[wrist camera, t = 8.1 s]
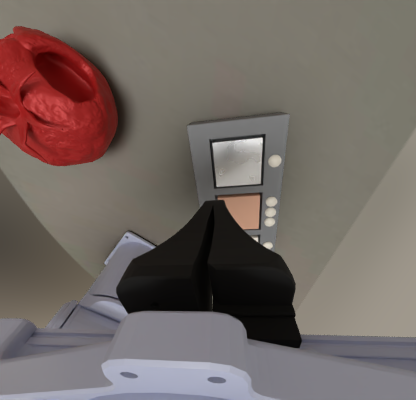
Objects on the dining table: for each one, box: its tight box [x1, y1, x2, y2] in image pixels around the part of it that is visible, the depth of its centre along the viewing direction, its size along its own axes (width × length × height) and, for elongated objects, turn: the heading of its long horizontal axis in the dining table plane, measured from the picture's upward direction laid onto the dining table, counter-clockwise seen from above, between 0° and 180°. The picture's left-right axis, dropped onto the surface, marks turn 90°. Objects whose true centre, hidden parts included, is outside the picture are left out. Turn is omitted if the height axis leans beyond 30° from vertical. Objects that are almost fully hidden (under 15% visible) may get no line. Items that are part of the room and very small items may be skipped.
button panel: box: [187, 112, 290, 252], centre depth 21 cm, size 20×9×3 cm, turn 6°
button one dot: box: [213, 135, 263, 187], centre depth 18 cm, size 5×5×2 cm
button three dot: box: [218, 192, 260, 229], centre depth 21 cm, size 5×5×2 cm
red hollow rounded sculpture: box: [0, 26, 118, 166], centre depth 14 cm, size 10×10×9 cm
